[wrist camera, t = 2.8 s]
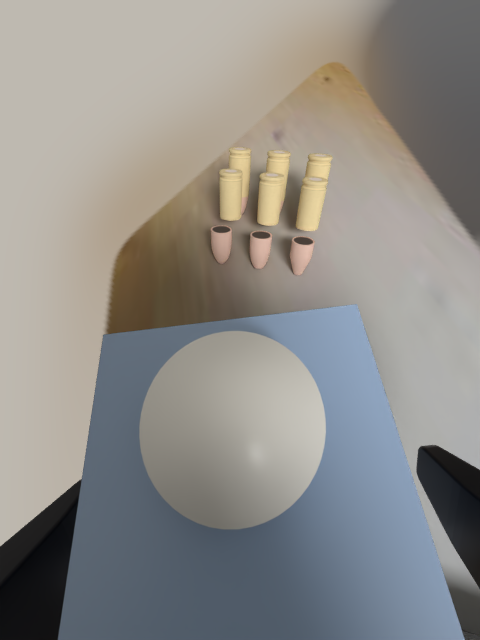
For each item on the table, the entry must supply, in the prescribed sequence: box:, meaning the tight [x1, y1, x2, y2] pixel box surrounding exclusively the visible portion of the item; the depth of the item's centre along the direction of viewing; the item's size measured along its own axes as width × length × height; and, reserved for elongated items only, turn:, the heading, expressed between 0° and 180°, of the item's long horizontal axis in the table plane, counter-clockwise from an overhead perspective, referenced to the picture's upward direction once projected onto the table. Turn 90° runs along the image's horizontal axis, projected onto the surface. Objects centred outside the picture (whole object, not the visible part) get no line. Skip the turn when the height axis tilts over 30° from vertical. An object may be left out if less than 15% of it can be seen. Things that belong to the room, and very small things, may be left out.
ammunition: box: [211, 147, 333, 275], centre depth 20 cm, size 5×7×8 cm
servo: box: [58, 304, 465, 640], centre depth 9 cm, size 10×4×13 cm, turn 5°
